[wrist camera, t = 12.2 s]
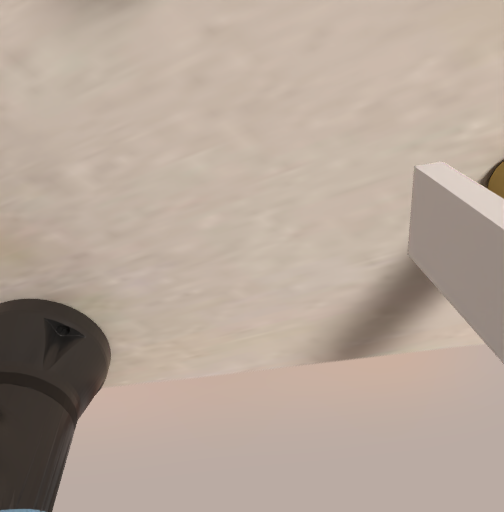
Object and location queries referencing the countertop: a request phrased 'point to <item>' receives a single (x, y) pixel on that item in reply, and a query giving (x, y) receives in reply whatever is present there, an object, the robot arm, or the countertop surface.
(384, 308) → the countertop surface
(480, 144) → the countertop surface
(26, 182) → the countertop surface
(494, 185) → the bark covered log
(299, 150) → the countertop surface
